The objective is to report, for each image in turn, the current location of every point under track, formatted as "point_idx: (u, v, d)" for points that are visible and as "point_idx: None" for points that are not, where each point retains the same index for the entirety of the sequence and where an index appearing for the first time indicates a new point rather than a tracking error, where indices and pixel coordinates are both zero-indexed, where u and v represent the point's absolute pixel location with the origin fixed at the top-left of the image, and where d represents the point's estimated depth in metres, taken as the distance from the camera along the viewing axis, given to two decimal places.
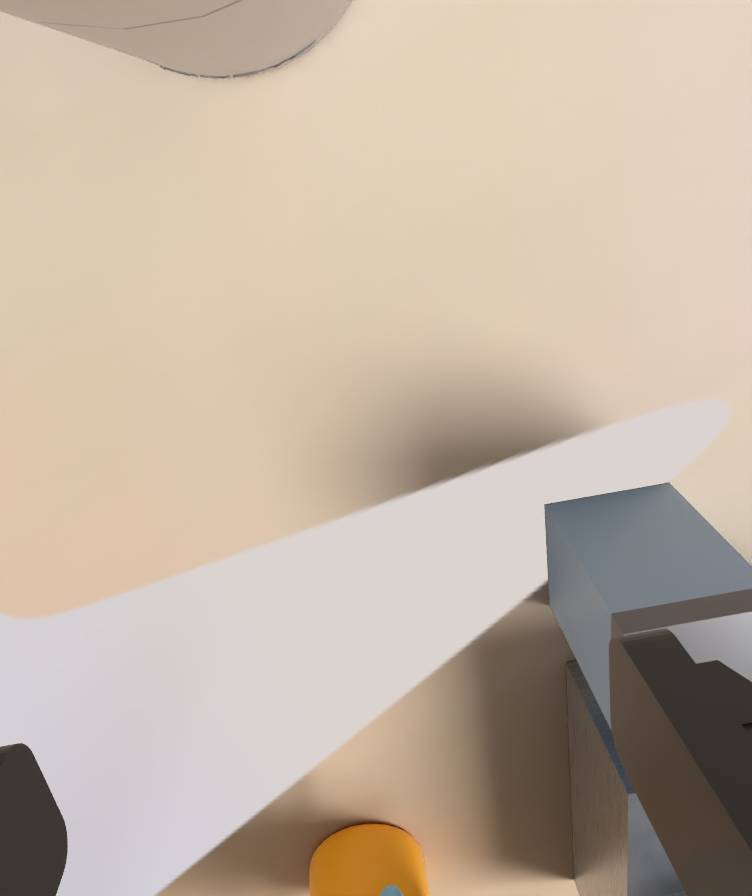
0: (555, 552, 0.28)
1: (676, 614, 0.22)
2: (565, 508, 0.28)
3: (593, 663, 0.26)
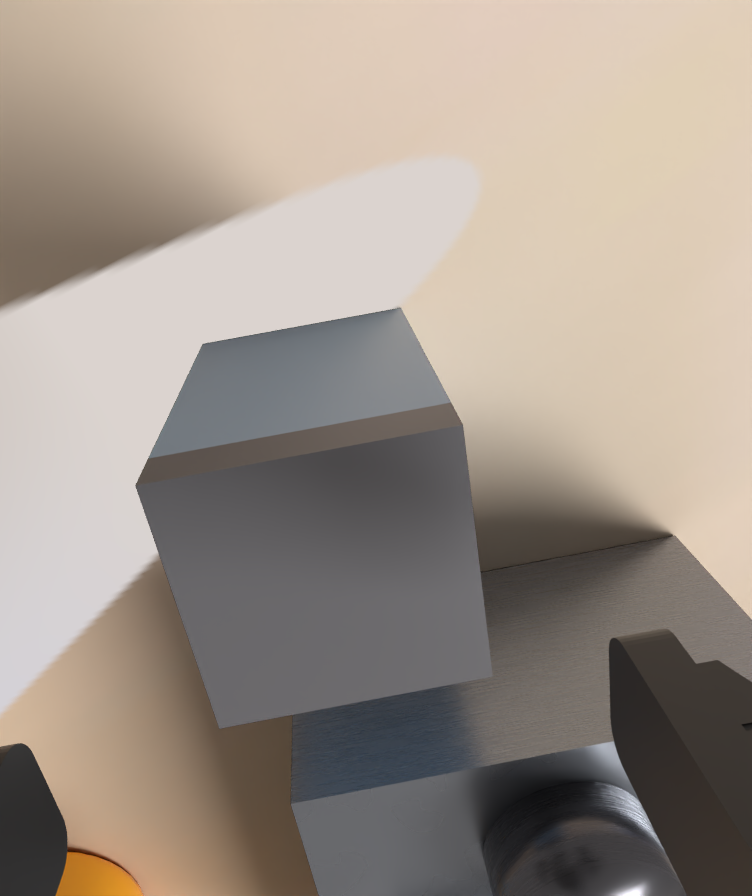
0: None
1: (255, 451, 0.11)
2: (226, 345, 0.18)
3: None
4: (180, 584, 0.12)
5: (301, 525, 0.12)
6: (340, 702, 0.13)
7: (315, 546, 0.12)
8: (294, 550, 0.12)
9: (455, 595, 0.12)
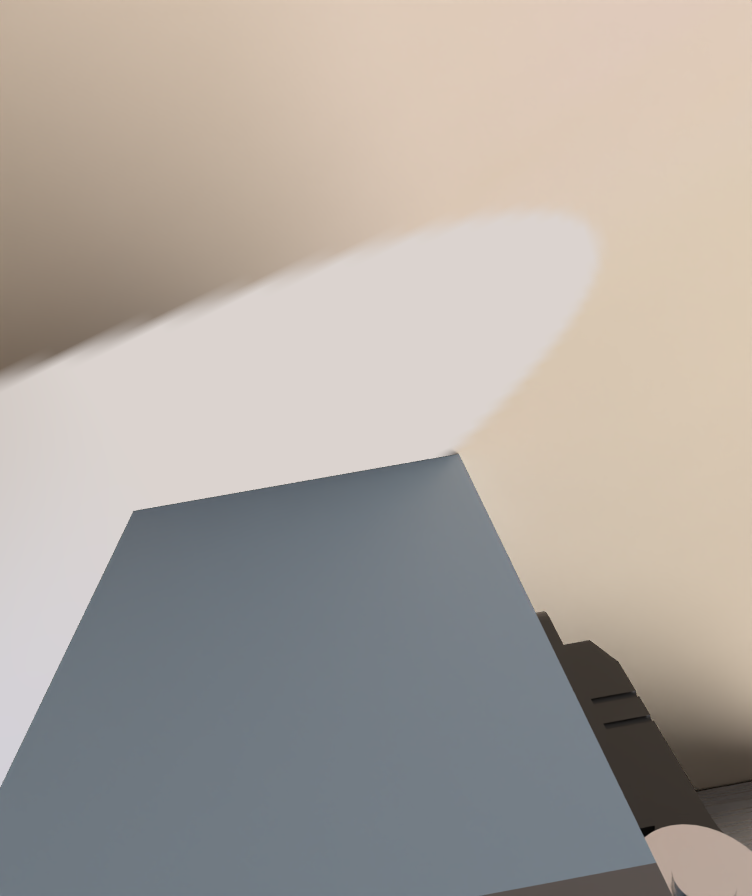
0: None
1: None
2: (170, 522, 0.11)
3: None
4: None
5: None
6: None
7: None
8: None
9: None
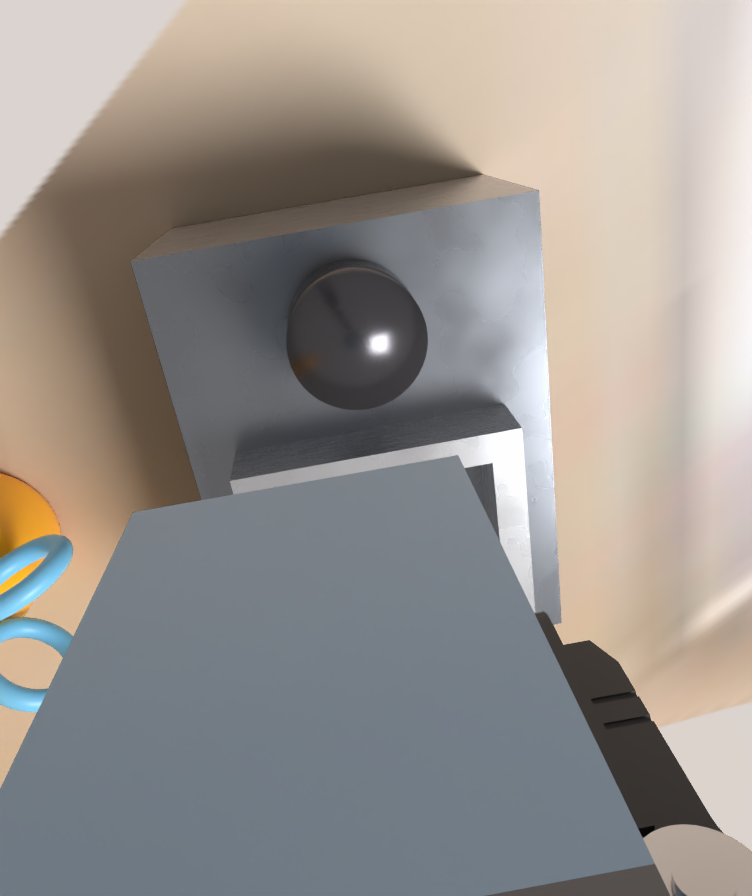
0: None
1: None
2: (169, 522, 0.11)
3: None
4: None
5: None
6: None
7: None
8: None
9: None
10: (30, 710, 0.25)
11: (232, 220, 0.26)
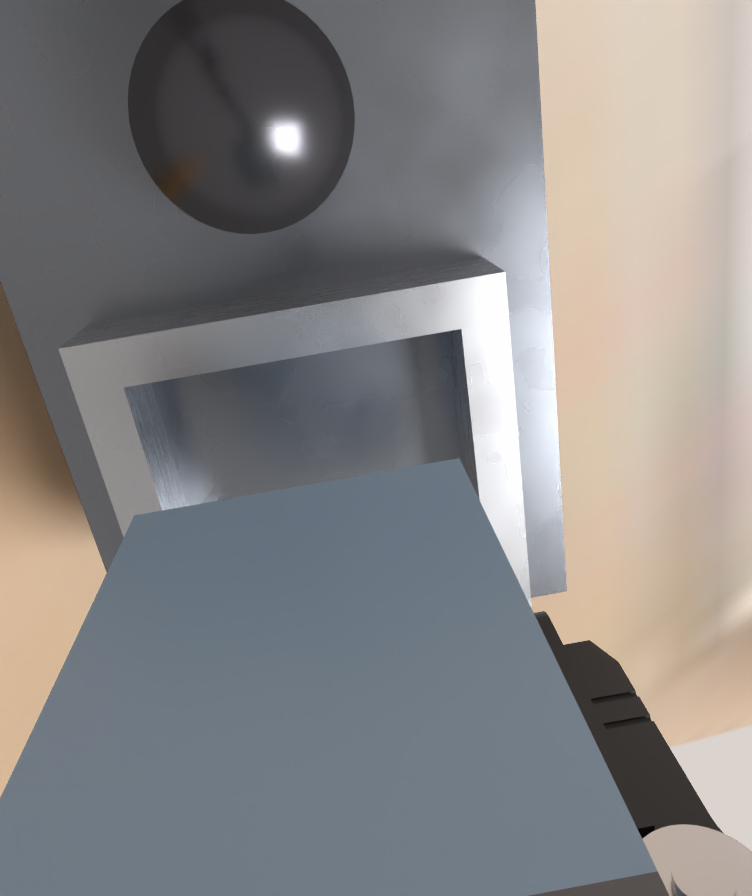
0: None
1: None
2: (171, 526, 0.11)
3: None
4: None
5: None
6: None
7: None
8: None
9: None
10: None
11: None
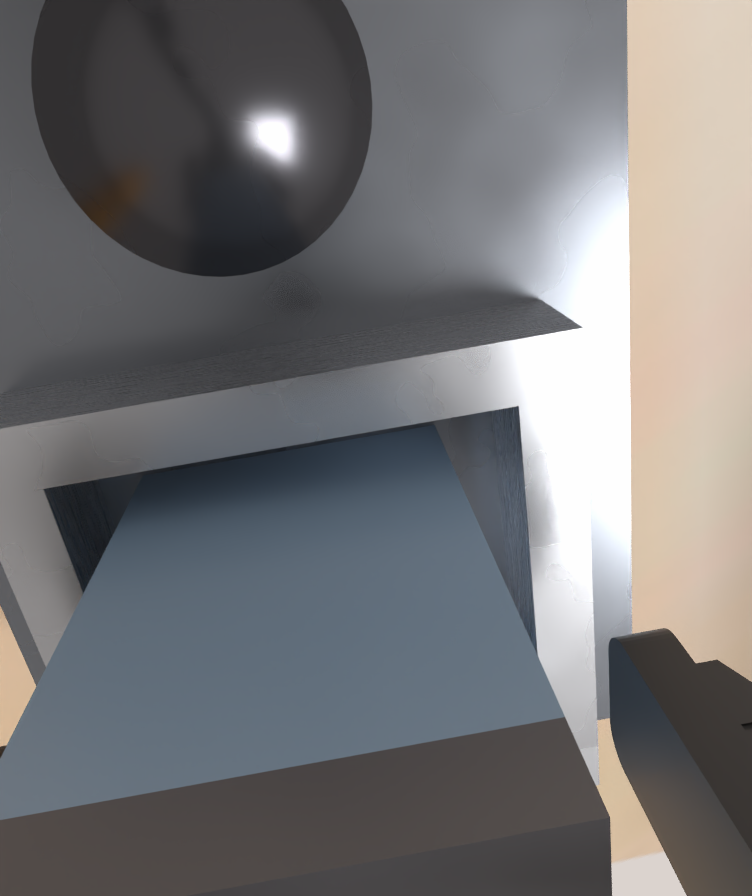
0: None
1: (171, 845, 0.06)
2: (176, 483, 0.12)
3: None
4: None
5: None
6: None
7: None
8: None
9: None
10: None
11: None
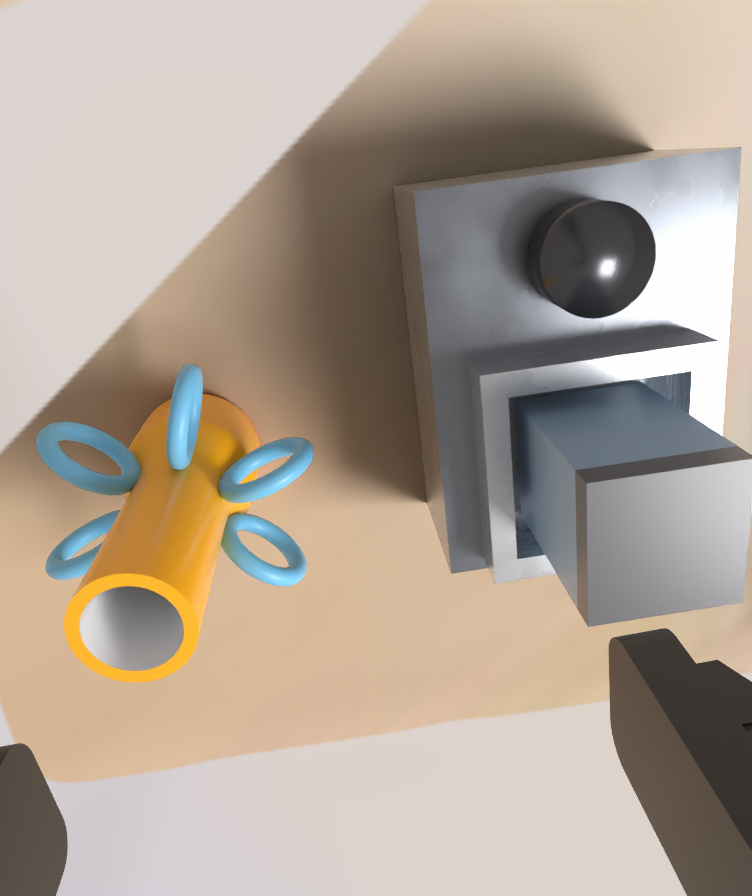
0: (525, 446, 0.28)
1: (641, 468, 0.22)
2: (536, 402, 0.28)
3: (560, 544, 0.25)
4: (592, 538, 0.22)
5: (662, 508, 0.22)
6: (655, 614, 0.23)
7: (667, 520, 0.22)
8: (655, 522, 0.22)
9: (733, 552, 0.23)
10: (274, 582, 0.29)
11: (450, 179, 0.31)
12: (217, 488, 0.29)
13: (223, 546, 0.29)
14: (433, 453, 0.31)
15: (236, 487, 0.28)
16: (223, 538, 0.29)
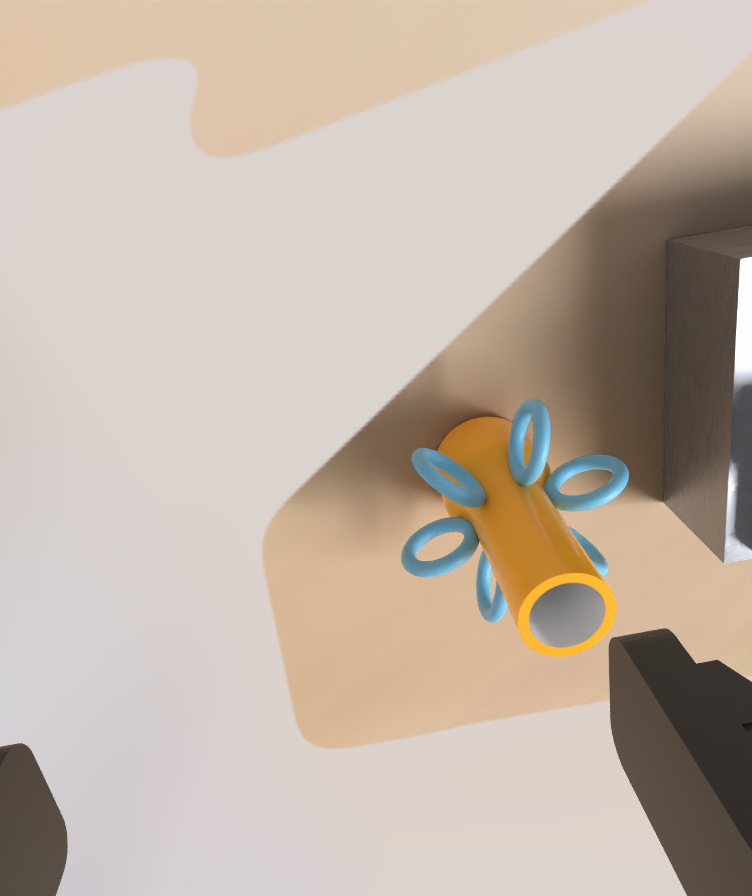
0: None
1: None
2: None
3: None
4: None
5: None
6: None
7: None
8: None
9: None
10: None
11: (722, 234, 0.37)
12: (550, 499, 0.35)
13: None
14: (707, 464, 0.38)
15: (574, 498, 0.34)
16: None
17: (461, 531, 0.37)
